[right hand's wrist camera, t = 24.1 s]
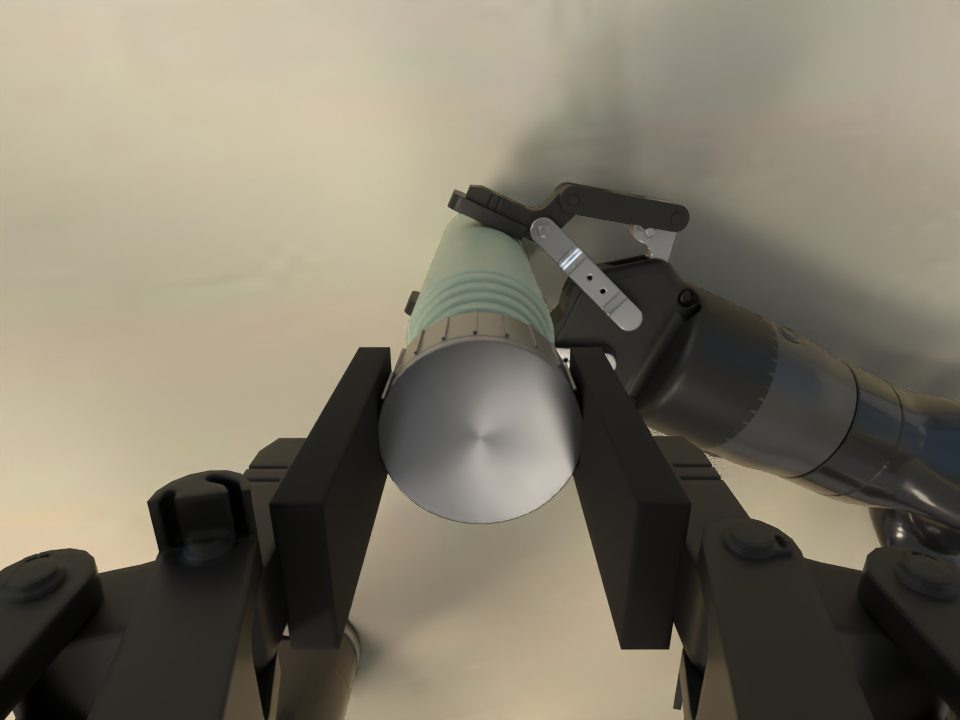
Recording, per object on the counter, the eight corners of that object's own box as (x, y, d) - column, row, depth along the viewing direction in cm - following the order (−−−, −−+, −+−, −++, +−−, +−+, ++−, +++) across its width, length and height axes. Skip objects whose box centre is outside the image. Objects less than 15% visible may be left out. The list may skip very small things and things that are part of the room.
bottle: (455, 298, 35) (420, 528, 14) (428, 223, 34) (345, 360, 13) (530, 274, 35) (605, 476, 14) (506, 196, 33) (551, 293, 12)
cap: (602, 430, 15) (621, 475, 13) (446, 503, 16) (441, 555, 14) (520, 275, 13) (527, 299, 11) (353, 364, 14) (332, 400, 12)
